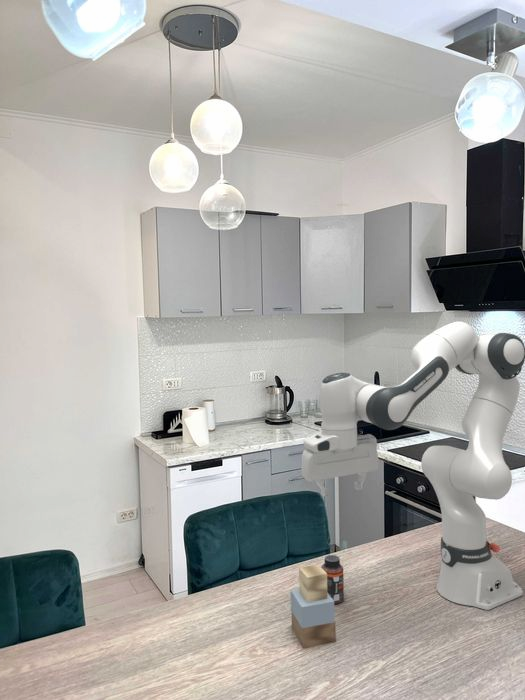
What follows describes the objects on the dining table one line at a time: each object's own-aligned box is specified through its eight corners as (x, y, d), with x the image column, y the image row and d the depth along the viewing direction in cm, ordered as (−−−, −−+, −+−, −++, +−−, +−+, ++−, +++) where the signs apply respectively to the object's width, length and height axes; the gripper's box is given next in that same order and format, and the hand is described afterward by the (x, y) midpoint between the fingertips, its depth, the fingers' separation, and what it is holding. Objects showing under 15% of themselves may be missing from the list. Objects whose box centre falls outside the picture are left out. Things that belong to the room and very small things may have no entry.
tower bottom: (322, 623, 128) (321, 603, 128) (335, 642, 120) (335, 621, 120) (291, 629, 126) (291, 609, 125) (303, 649, 118) (303, 628, 118)
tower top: (321, 604, 128) (321, 584, 127) (334, 622, 120) (334, 601, 120) (290, 609, 125) (290, 589, 125) (302, 628, 118) (301, 607, 117)
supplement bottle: (343, 606, 135) (342, 564, 135) (320, 604, 136) (319, 562, 136) (344, 594, 141) (343, 553, 140) (322, 592, 142) (321, 552, 142)
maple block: (318, 588, 126) (318, 564, 125) (327, 598, 121) (327, 573, 121) (299, 592, 124) (298, 567, 124) (307, 602, 119) (307, 577, 119)
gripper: (369, 430, 135) (372, 482, 136) (297, 440, 129) (300, 494, 130) (382, 435, 129) (384, 489, 130) (307, 446, 123) (310, 503, 124)
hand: (342, 492), depth 130 cm, fingers open, 8 cm apart
